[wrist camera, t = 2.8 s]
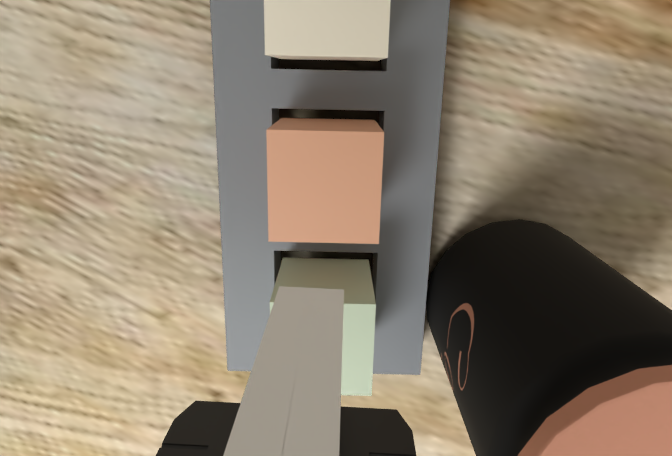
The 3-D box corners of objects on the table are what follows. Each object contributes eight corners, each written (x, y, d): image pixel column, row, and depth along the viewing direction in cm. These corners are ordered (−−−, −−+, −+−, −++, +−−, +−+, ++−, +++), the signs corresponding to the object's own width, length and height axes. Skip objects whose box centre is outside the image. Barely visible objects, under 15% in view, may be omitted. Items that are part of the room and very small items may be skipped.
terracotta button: (282, 207, 29) (268, 241, 23) (281, 117, 27) (266, 129, 21) (370, 209, 29) (379, 243, 23) (374, 119, 27) (384, 132, 21)
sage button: (283, 334, 31) (271, 393, 25) (283, 257, 30) (269, 302, 24) (365, 336, 31) (371, 395, 25) (368, 259, 30) (375, 304, 24)
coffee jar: (404, 240, 33) (478, 425, 15) (569, 193, 32) (843, 336, 15) (442, 377, 36) (539, 662, 18) (594, 339, 35) (845, 600, 18)
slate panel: (238, 342, 35) (227, 370, 32) (220, -88, 27) (204, -110, 24) (412, 345, 35) (420, 374, 32) (443, -83, 27) (458, -105, 24)
